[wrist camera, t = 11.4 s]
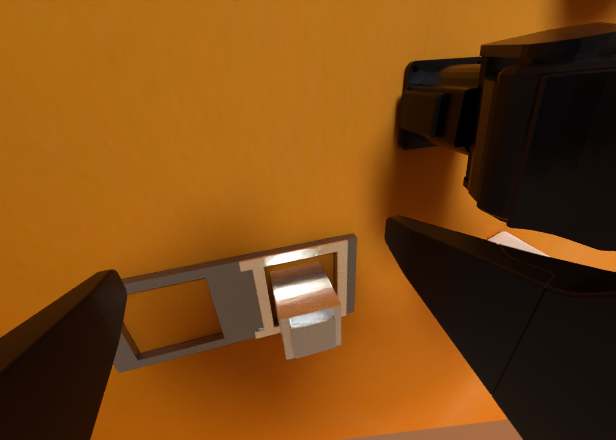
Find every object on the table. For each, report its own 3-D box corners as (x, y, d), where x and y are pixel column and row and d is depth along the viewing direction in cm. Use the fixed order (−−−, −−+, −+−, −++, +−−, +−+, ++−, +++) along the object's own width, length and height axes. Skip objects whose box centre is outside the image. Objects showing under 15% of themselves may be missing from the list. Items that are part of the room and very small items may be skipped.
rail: (353, 233, 26) (357, 238, 26) (351, 306, 31) (354, 313, 30) (72, 288, 22) (66, 297, 21) (121, 365, 27) (118, 375, 26)
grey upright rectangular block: (319, 260, 27) (344, 310, 21) (321, 297, 29) (343, 350, 24) (269, 271, 26) (281, 326, 20) (275, 308, 28) (287, 366, 23)
